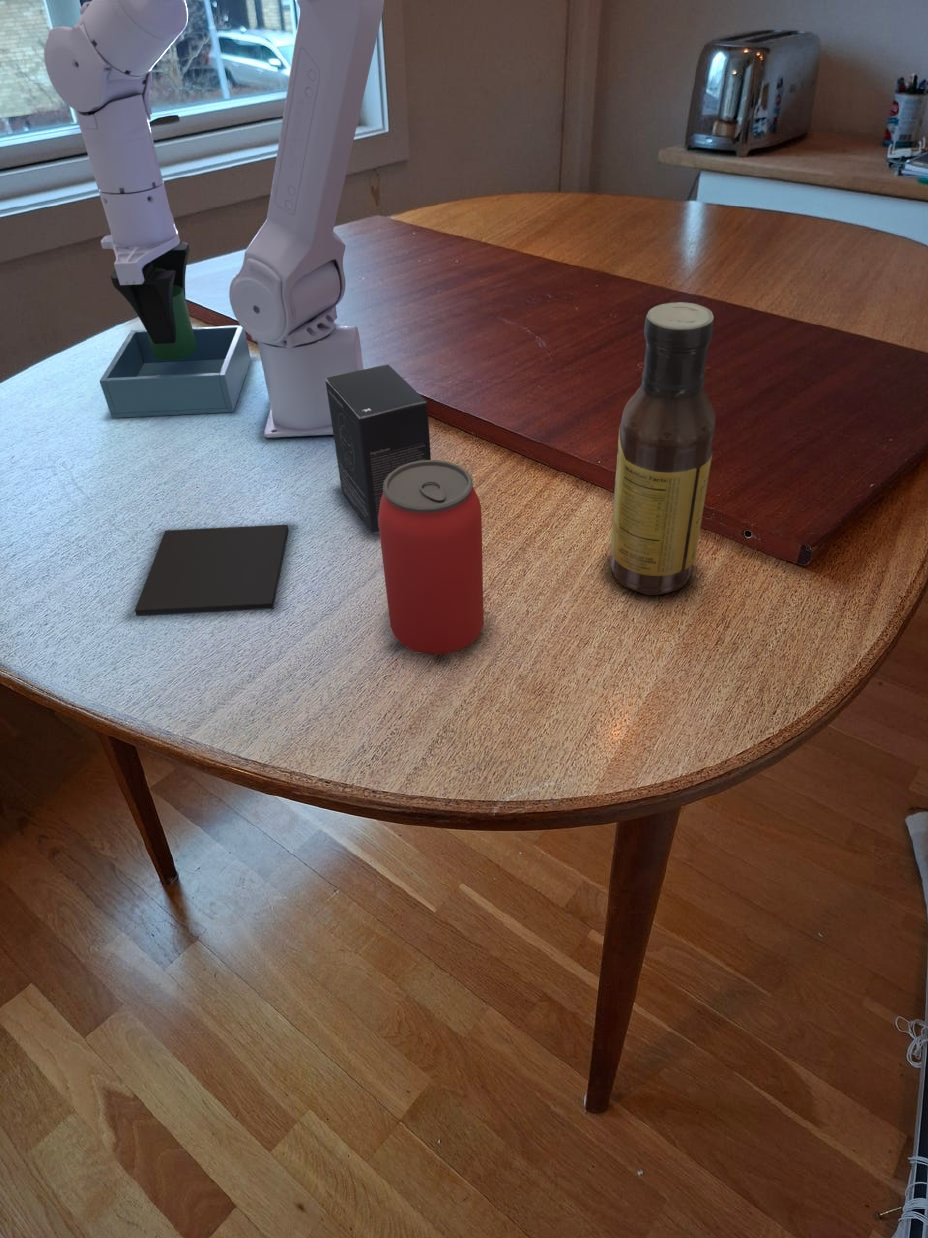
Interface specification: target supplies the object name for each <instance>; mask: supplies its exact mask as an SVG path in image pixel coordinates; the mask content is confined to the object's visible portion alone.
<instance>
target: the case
mask: <svg viewBox="0 0 928 1238" xmlns="http://www.w3.org/2000/svg"><path fill="white" fill-rule="evenodd" d="M192 329H193V333H194V336H195V340H196V344H197V351H196V352H195V353H194V354H192V355H190V356H188V357H185V358H182V359H177V360H161V359H158V358H156V357H155V356H154V355H153V351H152V348H151V344H150V341H149V337H148V334H147V331H146V329H137V330H136V329H132V330H130V331H129V333H128V335H126V338H125V339H124V341H123V343H122V344H121V346H120V347H119V349H118V351H117V352H116V354H115V356H114V357H113V358H112V360H111V362H110V364H109V365H108V366H107V368H106V370H105V371H104V373H103V374H102V375H101V378H100V380H99V384H100V386H101V390H102V392H103V396H104V399H105V402H106V405H107V408H108V411H109V413H110V417H111V419H120V418H137V417H138V418H139V417H140V418H141V417H161V416H162V417H163V416H180V415H181V416H183V415H202V414H203V415H204V414H205V415H206V414H223V413H224V414H225V413H234V411H235V408H236V405H237V403H238V399H239V397H240V393H241V391H242V387H243V385H244V382H245V379H246V376H247V373H248V370H249V367H250V364H251V361H252V357H251V354H250V348H249V344H248V338H247V334H246V333H247V332H246V331H245V330H244V329H243V327H242V326H241V325H240V324H239V325H220V326H219V325H218V326H199V327H198V326H197V327H195V326H194V327H192Z"/></svg>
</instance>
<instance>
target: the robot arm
mask: <svg viewBox="0 0 928 1238" xmlns="http://www.w3.org/2000/svg"><path fill="white" fill-rule="evenodd" d="M186 1H187V0H91V1H86V2H83V4H82V5H81V6H80V8H79V14H80V17H79V19H78V20H77V22H76V24H74V25H73V26H72V27H70V26H66V25H62V26H61V25H60V26H55V27H53V28H51V29H50V30H49V32H48V35H47V39H46V40H45V43H44V49H43V50H44V51H43V57H44V63H45V64H44V66H45V69H46V72H47V75H48V78H49V80H50V82H51V85H52V86H53V88H54V90H55V91H56V93H57V95H58V96H59V97H60V99H61V100H62V101H63V102H64V103H65V104H66V105H67V106H69V107H70V108H71V109H73V110H74V112H75V115H76V120H77V122H78V126H79V129H80V132H81V137H82V139H83V142H84V146H85V149H86V153H87V156H88V159H89V164H90V166H91V170H92V174H93V176H94V181H95V183H96V188H97V190H98V195H99V197H100V200H101V204H102V208H103V211H104V214H105V217H106V221H107V224H108V227H109V231H110V234H108V235H105V236H103V237H102V239H101V240H100V244H101V248H102V250H103V249H104V250H113V252H114V255H115V261H114V262H113V265H114V269H115V270H114V271H112V273H111V275H110V280H111V283H112V285H113V287H114V289H116V290H117V291H118V292H119V293H120V294H121V295H122V297H123V298H125V299H126V301H127V302H128V303H129V305H130V306H131V307H132V309H133V310H134V312H135V313H136V315H137V317H138V319H139V320H140V322H141V324H142V325H143V328H144V330H146V331H147V333H148V334H149V336H150V338H151V340H152V341H153V343H154V344H166V343H175V341H176V326H175V319H174V312H173V299H172V296H173V285H176V286H179V287H181V288H182V289H183V293H184V297H185V301H186V302H187V298H186V274H187V263H188V260H189V255H190V245H189V243H187V242H184V241H183V242H182V241H181V239H180V235H179V231H178V228H177V227H176V224H175V220H174V216H173V212H171V211H172V210H171V207H170V204H169V199H168V196H167V195H168V194H167V191H166V187H165V183H164V179H163V175H162V172H161V171H162V170H161V167H160V164H159V159H158V156H157V154H158V153H157V151H156V147H155V143H154V139H153V138H154V137H153V134H152V131H151V130H152V129H151V126H150V121H151V119H152V118H151V116H152V115H153V112H152V108H151V104H150V91H151V88H152V83H153V68H154V66H155V65H156V64H157V63H158V62H159V61H160V59H161V58H162V57H163V55H164V54H165V53H166V52H167V51H168V49H170V47H171V46H172V45H173V44H174V43H175V41H176V40H177V39H178V38H179V36H180V35H181V34H182V33H183V31H184V30H185V29H186V27H187V26H188V25H187V24H188V19H189V13H188V6H187V2H186ZM294 1H295V3H296V4H297V6H298V9H299V11H298V12H299V13H298V14H299V15H298V21H297V27H296V32H295V39H294V40H295V41H294V46H293V52H292V59H291V65H290V70H289V71H290V72H289V78H288V83H287V90H286V97H285V102H284V109H283V115H282V120H281V127H280V133H279V139H278V144H277V145H278V146H277V151H276V158H275V163H274V170H273V178H272V184H271V189H270V196H269V202H268V207H267V208H268V209H267V215H266V220H265V221H264V223H263V225H262V226H261V227H260V229H259V230H258V232H257V234H256V235H255V236H254V238H253V239H252V241H251V242H250V243H249V245H248V246H247V248H246V249H245V250H244V256H243V260H242V261H243V262H242V264H241V268H240V269H239V271H238V272H237V273H236V274H235V275H234V276H233V278H232V280H231V282H230V285H229V290H228V291H229V292H228V295H229V302H230V307H231V310H232V312H233V315H234V317H235V319H236V321H237V322H238V323H239V325H241V326H242V327H243V329H244V330H245V333H247V334H248V335H249V336H250V338H251V341H253V342H256V343H257V347H258V352H259V356H260V361H261V366H262V372H263V377H264V381H265V386H266V392H267V397H268V402H269V406H270V407H269V412H268V416H267V420H266V424H265V427H264V430H263V433H264V434H263V435H264V437H265V438H268V439H269V438H290V437H291V438H293V437H309V436H311V437H312V436H330V435H331V436H334V435H333V428H332V421H331V415H330V408H329V401H328V394H327V388H326V382H325V379H326V378H328V377H332V376H337V375H342V374H346V373H350V372H355V371H359V370H364V363H363V354H362V353H363V352H362V346H361V338H360V333H359V328H358V327H357V326H354V325H343V324H340V323H336V322H335V321H336V320H337V319H338V313H337V306H338V304H340V302H341V301H342V300H343V298H344V295H345V291H346V275H345V270H344V256H345V251H346V244H345V242H344V241H343V240H342V239H341V238H340V236H339V235H338V234H337V233H336V232H335V231H334V229H335V225H336V219H337V215H338V211H339V206H340V202H341V198H342V193H343V189H344V185H345V180H346V175H347V172H348V167H349V163H350V157H351V154H352V150H353V145H354V141H355V136H356V131H357V128H358V123H359V118H360V114H361V110H362V106H363V100H364V97H365V92H366V88H367V84H368V79H369V75H370V70H371V66H372V61H373V56H374V53H375V52H374V51H375V49H376V43H377V40H378V39H377V38H378V34H379V30H380V27H381V26H380V25H381V22H382V17H383V12H384V4H385V0H294ZM157 268H163V269H165V270H166V271H157Z"/></svg>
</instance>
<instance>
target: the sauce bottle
mask: <svg viewBox="0 0 928 1238" xmlns="http://www.w3.org/2000/svg"><path fill="white" fill-rule="evenodd" d="M713 314H714V313H713V312H712V310H710V309H709V308H707V307H705V306H703V305H700V304H698V303H693V302H685V301H683V302H682V301H678V302H667V303H662V304H658V305H655V306H654V307H652V308H650V309H649V310H648V311H647V314H646V316H645V321H644V327H643V335H644V336H643V337H644V340H645V341H646V342H645V354H644V365H643V370H642V373H641V379H642V380H641V384H640V386H639V387H638V389H636V391H635V393H634V394H633V395H632V396H631V397H630V398H629V400H628V401H627V402H626V404H625V406H624V408H623V410H622V414H621V420H620V425H619V429H618V440H617V455H616V465H615V466H616V469H615V479H614V487H613V488H614V491H613V492H614V493H613V503H612V518H611V533H610V544H609V545H610V546H609V547H610V554H611V555H610V560H609V561H610V567H611V571H612V574H613V575H614V577H615V579H616V580H617V582H619V584H620V585H622V586H624V587H625V588H628V589H630V590H632V591H635V592H638V593H641V594H643V595H649V596H659V595H663V594H669V593H672V592H674V591H678V590H679V589H681V588H682V587H684V586H685V585H686V583H687V582H688V580H689V579H690V576H691V574H692V571H693V565H694V562H695V561H696V560H695V559H697V551H698V545H699V539H700V534H701V528H702V527H701V525H702V519H703V514H704V513H703V512H704V507H705V501H706V496H707V489H708V483H709V477H710V472H711V471H710V469H711V465H712V457H713V441H714V435H715V431H716V422H717V421H716V412H715V409H714V406H713V404H712V402H711V401H710V399H709V397H708V395H707V393H706V391H705V389H704V383H705V380H706V375H705V367H706V363H707V355H708V354H707V353H708V347H709V344H710V343H711V340H712V338H713V332H714V323H715V317H714V315H713Z"/></svg>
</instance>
